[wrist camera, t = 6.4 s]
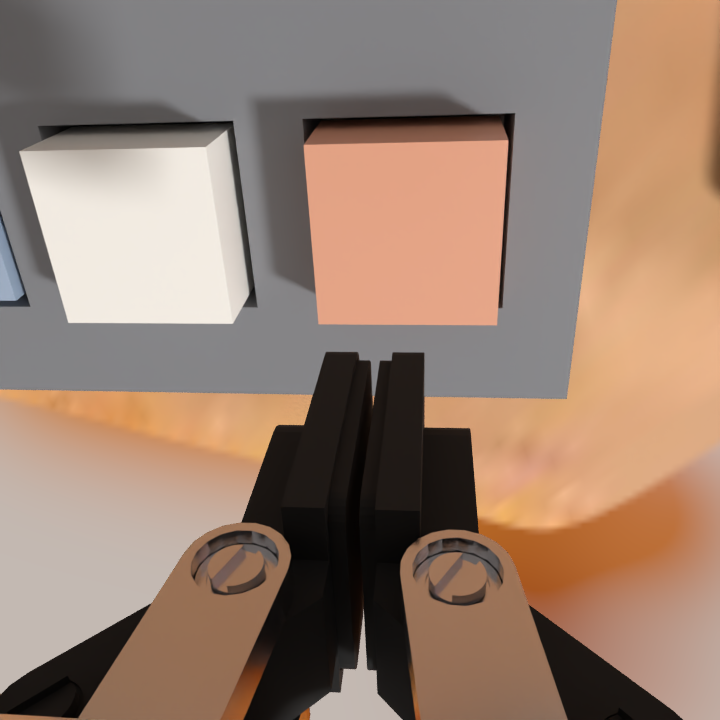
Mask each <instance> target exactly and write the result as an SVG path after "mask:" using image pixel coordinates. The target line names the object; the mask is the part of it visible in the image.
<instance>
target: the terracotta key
mask: <svg viewBox="0 0 720 720" xmlns="http://www.w3.org/2000/svg"><path fill="white" fill-rule="evenodd" d="M507 156H508V138H507V135H506V132H505V130H504V127H503V124H502V122H501V119H500V117H499V116H465V117H427V118H390V119H352V120H321V121H320V123H319V124H318V126H317V127H316V128H315V130H314V131H313V132H312V134H311V135H310V137H309V138H308V139H307V141H306V142H305V143H304V157H305V169H306V181H307V193H308V205H309V217H310V229H311V241H312V253H313V265H314V276H315V288H316V300H317V312H318V324H347V325H497V317H498V301H499V285H500V269H501V253H502V237H503V220H504V204H505V188H506V172H507Z"/></svg>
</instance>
